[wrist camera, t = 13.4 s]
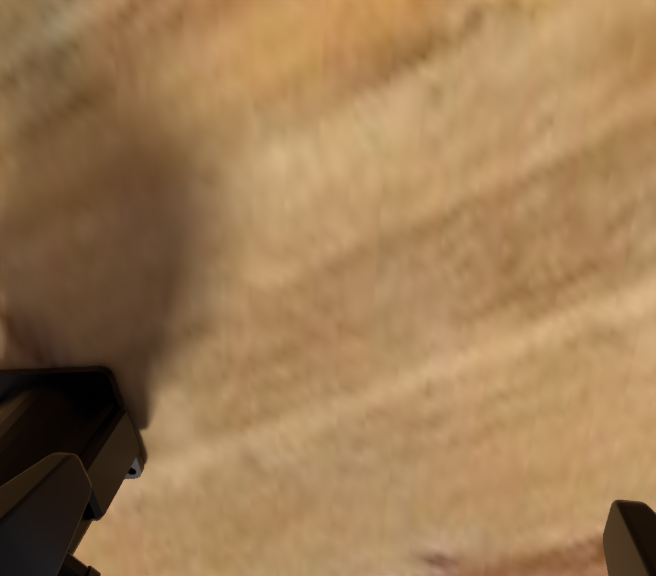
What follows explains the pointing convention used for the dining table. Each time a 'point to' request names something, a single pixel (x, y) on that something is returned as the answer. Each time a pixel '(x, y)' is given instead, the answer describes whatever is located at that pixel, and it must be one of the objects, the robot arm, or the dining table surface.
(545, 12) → the dining table surface
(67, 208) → the dining table surface
